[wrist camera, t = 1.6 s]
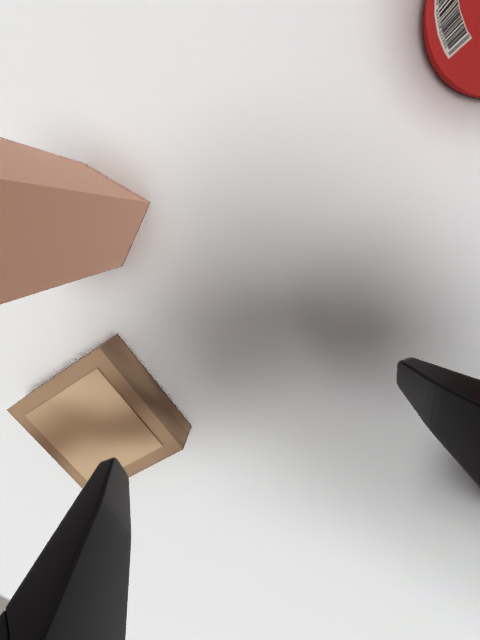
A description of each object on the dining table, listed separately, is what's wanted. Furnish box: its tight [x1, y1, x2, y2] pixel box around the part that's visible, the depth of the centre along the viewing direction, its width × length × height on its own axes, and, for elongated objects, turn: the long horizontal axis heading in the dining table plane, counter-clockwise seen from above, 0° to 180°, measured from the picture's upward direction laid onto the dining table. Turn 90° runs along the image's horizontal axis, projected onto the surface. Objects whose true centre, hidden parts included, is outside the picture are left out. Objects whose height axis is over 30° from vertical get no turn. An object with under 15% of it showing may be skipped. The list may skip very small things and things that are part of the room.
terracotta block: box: [0, 137, 150, 304], centre depth 14 cm, size 5×5×12 cm
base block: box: [7, 334, 191, 488], centre depth 23 cm, size 9×9×3 cm
